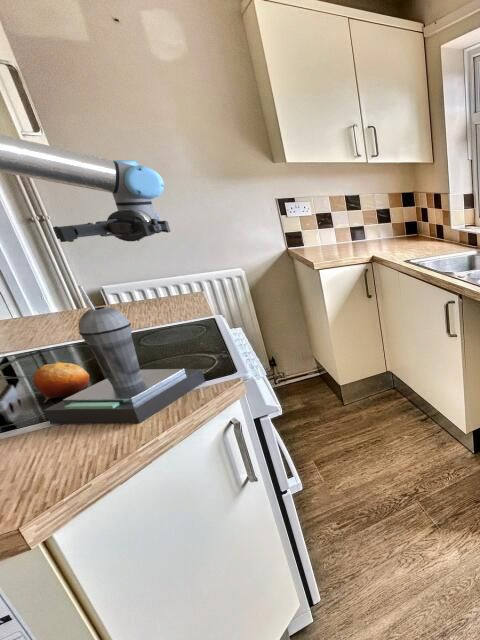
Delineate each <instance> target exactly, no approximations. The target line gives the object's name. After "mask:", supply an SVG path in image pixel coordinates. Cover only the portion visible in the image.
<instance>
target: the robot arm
mask: <svg viewBox="0 0 480 640" xmlns="http://www.w3.org/2000/svg"><path fill="white" fill-rule="evenodd" d="M0 173H2V174H3V173H4V174H8V175H12V176H13V175H15V176H19V177H25V178H30V179H36V180H42V181H46V182H52V183H55V184H56V183H57V184H62V185H68V186H73V187H78V188H84V189H89V190H94V191H100V192H106V193H111V194H112V197H113V200H114V202H115V206H116V209H117V211H114V212H112V213H111V214H110V215H108V217H107V219H106V220H101V221H96V222H95V223H94V222H87V223H81V224H71V225H62V226H58V225H57V226H53V227H52V229H53V232H54V235H55V237H56V239H57V240H59V241H60V242H61V243H67V242H68V243H72V242H75V240H78V238H85V237H95V236H100V237H115V238H116V239H118V240H121V241H124V242H142V239H144V238H147V237H151V236H154V235H155V234H160V233H170V232H171V228H170V225H169V222H168V221H167V220H161V218H160V215H158V213H156V212H155V209H154V206H153V205H154V204H153V203H152V200H154V199H155V198H158V197H160V196H161V195H162V194H163V193H164V190H165V182H164V179H163V178H162V176H161V175H160V174H159V173H158V172H157V171H156V170H154V169H153V168H150V167H149V166H145V165H144V166H143V165H140V163H139V162H137V161H135V160H122V159H121V160H120V159H117V160H116V159H115V160H112V159H108V158H103V157H99V156H94V155H91V154H86V153H82V152H78V151H74V150H69V149H65V148H61V147H56V146H52V145H48V144H43V143H39V142H35V141H30V140H26V139H22V138H18V137H14V136H9V135H5V134H0Z"/></svg>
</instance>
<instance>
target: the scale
mask: <svg viewBox="0 0 480 640" xmlns="http://www.w3.org/2000/svg"><path fill="white" fill-rule="evenodd" d="M183 369H184V370H185V374H183V375H181V376H179V377H178V378H176V379H174V380H173V381H171V382H169V383H167V384H166V385H164V386H162V387H160V388H159V389H157V390H155V391H153V392H152V393H150V394H148V395H147V396H145V397H143V398H141V399H140V400H138V401H136V402H134V403H131V404H120V403H119V402H90V403H70V404H65V403H64V401H63V400H61V401H59V402H58V403H55V404H53V405H51V406H49V407H47V408H45V409H43V413H44V415H45V417H46V419H47V421H48V423H49V425H103V424H104V425H105V424H106V425H107V424H108V425H109V424H110V425H112V424H117V425H118V424H141V423H142V422H144V421H146V420H147V419H148V418H150V417H152V416H153V415H156V413H158V412H160V411H161V410H163V409H164V408H166V407H168V406H169V405H171V404H172V403H174V402H175V401H177V400H178V399H180V398H182V397H183V396H185V395H186V394H188V393H190V392H191V391H193V390H194V389H195V387H196V388H197V387H199V386H201V385H202V384H204V383H205V382H206V379H205V376H204V373H203V370H202V368H183ZM187 392H188V393H187ZM185 393H186V394H185ZM184 394H185V395H184Z"/></svg>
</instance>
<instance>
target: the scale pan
mask: <svg viewBox="0 0 480 640" xmlns="http://www.w3.org/2000/svg"><path fill="white" fill-rule="evenodd" d="M184 369H185V368H162V369H161V368H159V369H158V368H157V369H156V368H154V369H153V368H152V369H151V368H149V369H140V371H141V377H142V381H141V382H139V383H138V384H135V385H132V386H129V387H125V388H113V387H112V384H111V383H110V382H109V380H108V379H107V378H105V379H103V380H101V381H99V382H96V383H95V384H93V385H90V386H88V387H85V388H84V390H82V391H80V392H78V393H76V394H74V395H72V396H68V397H65V398H63V399H62V401H64V403H65V404H70V403H90V402H119V403H120V404H131V403H134V402H136V401H138V400H140V399H141V398H143V397H145V396H147V395H148V394H150V393H152V392H153V391H155V390H157V389H159V388H160V387H162V386H164V385H166V384H167V383H169V382H171V381H173V380H174V379H176V378H178V377H179V376H181V375H183V374H185V370H184Z"/></svg>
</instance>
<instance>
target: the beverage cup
mask: <svg viewBox="0 0 480 640" xmlns="http://www.w3.org/2000/svg"><path fill="white" fill-rule="evenodd" d="M77 287H78V289H79V291H80V292H81V294H82V296H83V298H84V299H85V302H86V303H87V304H88V307H89V308H90V309H88V310H86V311H85V312H83V314H82V315H81V316H80V318H79V320H78V330H79V332H78V333H79V335H80V336H81V337H82V339H83V341H84V342H85V343H86V344H87V345H88V347H89V349H90V350H91V352H92V354H93V355H94V357H95V359H96V361H97V363H98V365H99V367H100V368H101V371H102V372H103V374H104V375H105V377H106V379H108V380H109V382H110V383H111V384H112V387H113V388H125V387H129V386H132V385H135V384H138V383H139V382H141V381H142V377H141V371H140V370H141V367H140V363H139V360H138V355H137V352H136V348H135V345H134V339H133V336H132V327H131V326H132V324H131V322H130V321H129V319H128V317H127V316H126V315H125V314H124V313H122V312H121V311H119V310H118V309H115V308H113V307H109V306H97V307H95V306H94V304H93V303H92V301H91V299H90V298H89V296H88V294H87V292H86V291H85V289H84V287H83V286H82V285H77Z"/></svg>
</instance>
